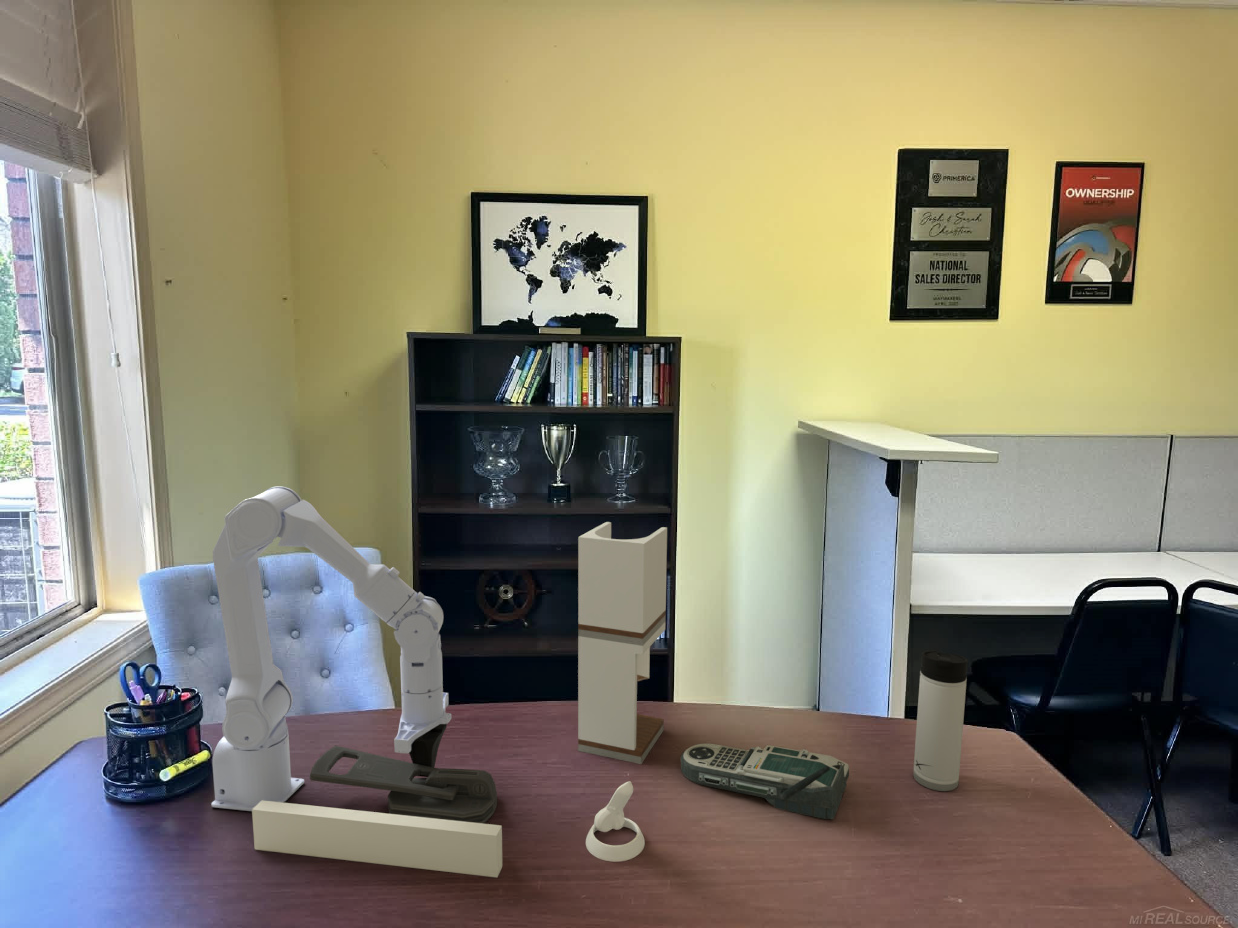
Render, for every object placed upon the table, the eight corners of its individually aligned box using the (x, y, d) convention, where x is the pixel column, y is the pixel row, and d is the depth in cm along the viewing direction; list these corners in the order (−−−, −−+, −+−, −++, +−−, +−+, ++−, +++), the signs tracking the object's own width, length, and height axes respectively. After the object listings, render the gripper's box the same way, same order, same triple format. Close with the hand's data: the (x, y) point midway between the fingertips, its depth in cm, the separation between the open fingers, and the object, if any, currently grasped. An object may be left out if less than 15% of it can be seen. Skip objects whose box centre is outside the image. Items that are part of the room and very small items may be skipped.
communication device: (698, 749, 123) (698, 697, 121) (849, 787, 112) (852, 730, 111) (668, 786, 112) (669, 729, 111) (832, 831, 101) (835, 769, 100)
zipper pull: (331, 741, 110) (501, 748, 108) (333, 784, 111) (502, 791, 109) (302, 775, 101) (486, 783, 99) (304, 821, 102) (487, 830, 100)
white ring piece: (633, 852, 88) (595, 803, 91) (605, 888, 96) (571, 842, 99) (675, 813, 93) (637, 768, 96) (645, 850, 101) (611, 808, 104)
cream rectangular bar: (254, 849, 96) (252, 809, 95) (273, 829, 100) (271, 791, 99) (497, 877, 91) (496, 835, 91) (507, 855, 95) (506, 815, 95)
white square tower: (641, 763, 117) (644, 543, 112) (578, 750, 121) (578, 536, 116) (663, 730, 128) (667, 527, 123) (605, 719, 131) (606, 521, 126)
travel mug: (912, 787, 111) (921, 658, 108) (913, 765, 117) (922, 642, 114) (959, 797, 109) (969, 665, 106) (957, 773, 115) (967, 648, 112)
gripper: (428, 710, 100) (431, 806, 102) (466, 666, 114) (468, 750, 116) (378, 706, 101) (381, 801, 103) (422, 663, 115) (424, 747, 117)
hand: (424, 774), depth 109 cm, fingers closed
